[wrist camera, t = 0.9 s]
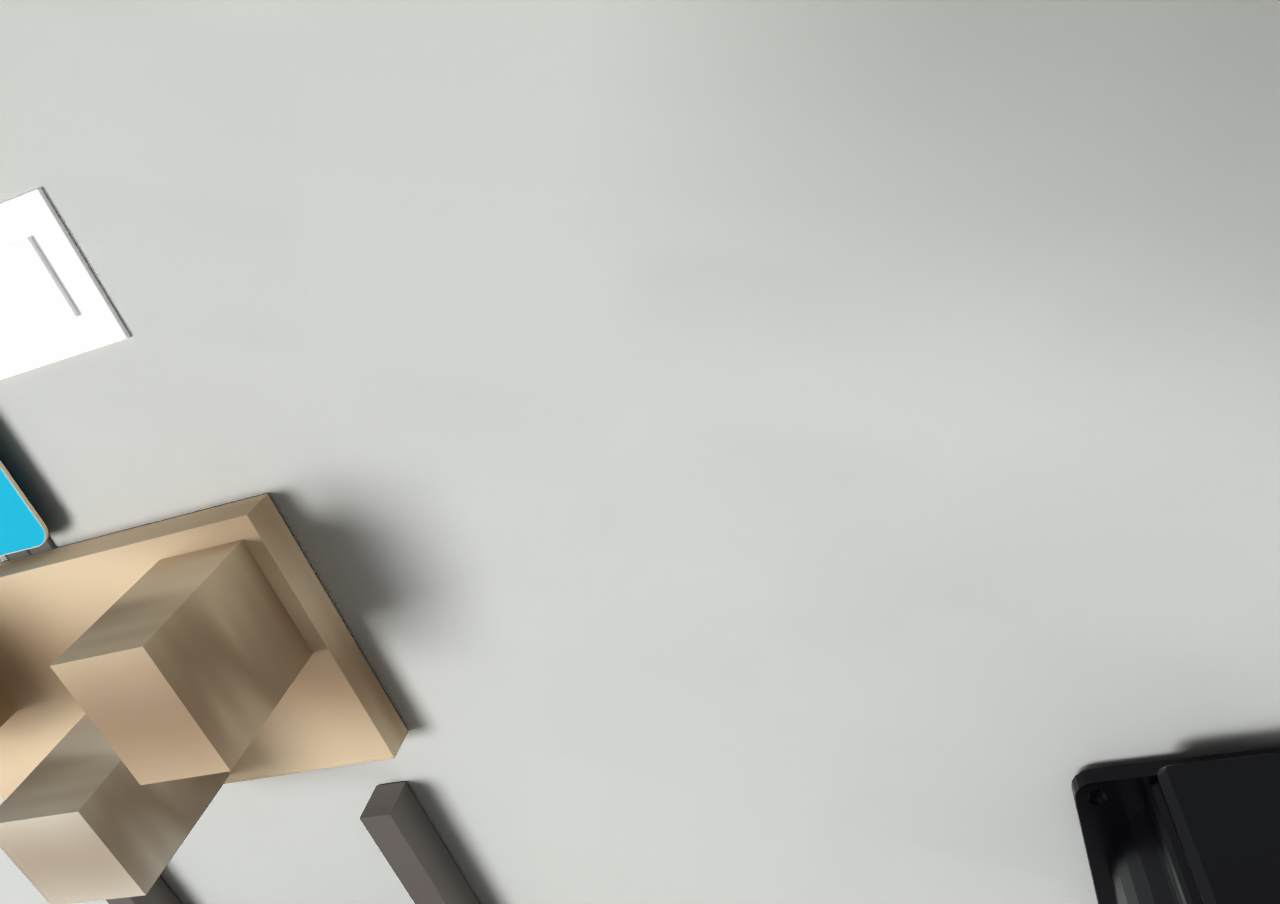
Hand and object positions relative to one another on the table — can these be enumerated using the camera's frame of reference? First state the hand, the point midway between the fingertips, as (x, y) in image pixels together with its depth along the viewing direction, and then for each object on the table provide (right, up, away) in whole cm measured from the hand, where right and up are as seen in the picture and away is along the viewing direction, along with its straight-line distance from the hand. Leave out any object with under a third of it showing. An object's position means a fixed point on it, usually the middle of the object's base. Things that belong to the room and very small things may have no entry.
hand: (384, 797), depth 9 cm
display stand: (-12, -3, +19) cm, 23 cm away
